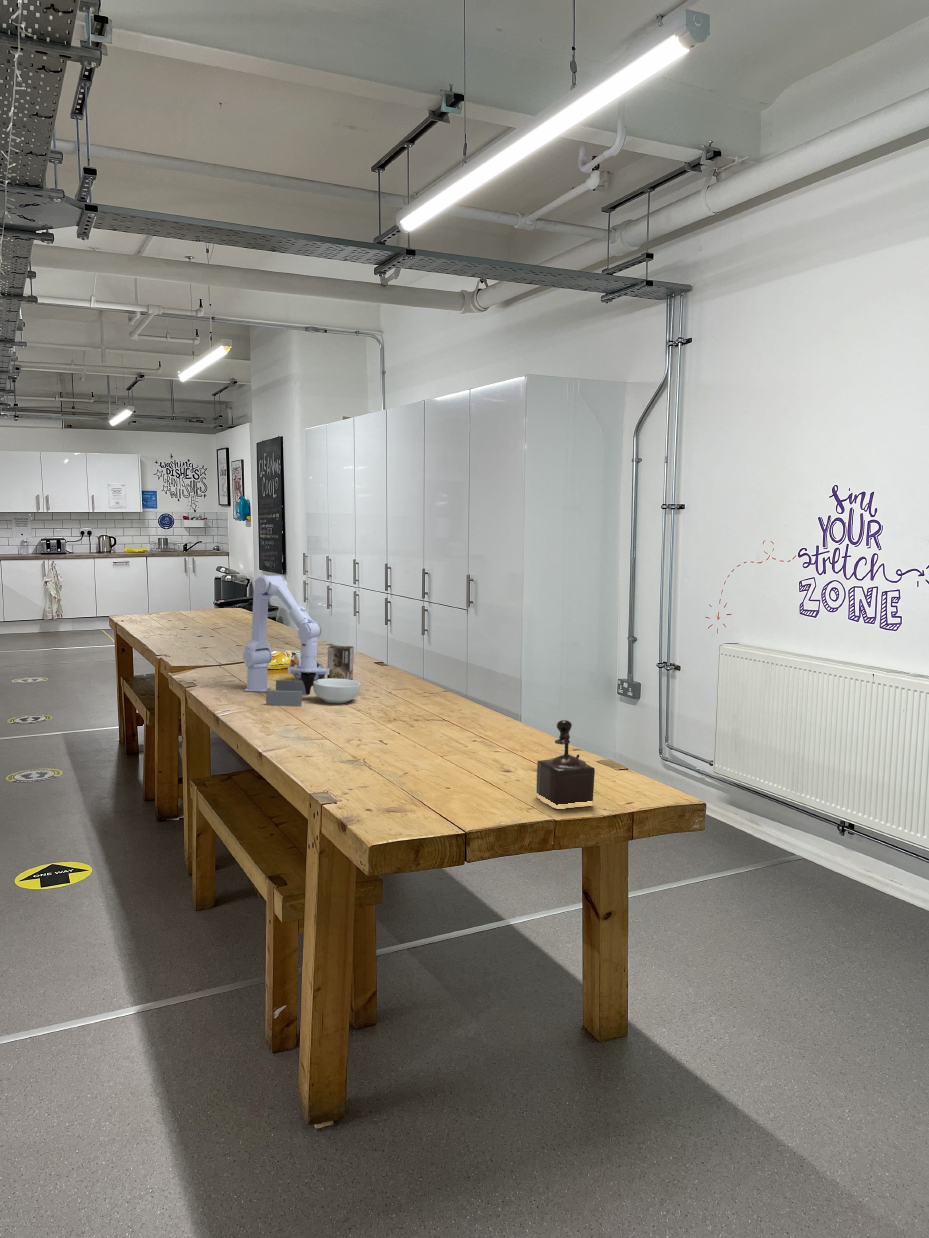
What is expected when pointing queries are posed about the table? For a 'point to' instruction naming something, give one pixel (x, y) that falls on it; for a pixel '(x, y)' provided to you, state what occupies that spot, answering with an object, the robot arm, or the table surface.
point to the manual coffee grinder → (565, 774)
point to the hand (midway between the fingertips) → (308, 693)
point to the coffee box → (340, 662)
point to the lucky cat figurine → (296, 662)
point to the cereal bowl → (336, 689)
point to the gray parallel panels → (286, 693)
